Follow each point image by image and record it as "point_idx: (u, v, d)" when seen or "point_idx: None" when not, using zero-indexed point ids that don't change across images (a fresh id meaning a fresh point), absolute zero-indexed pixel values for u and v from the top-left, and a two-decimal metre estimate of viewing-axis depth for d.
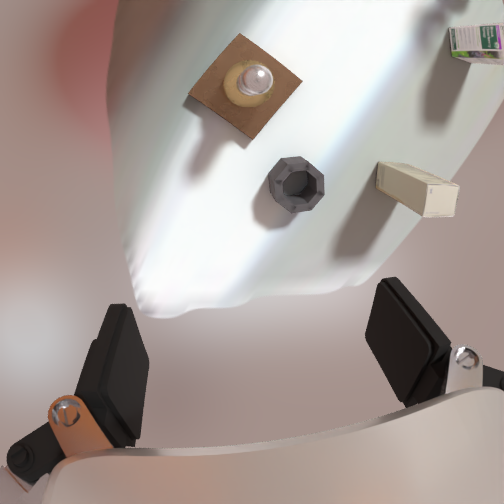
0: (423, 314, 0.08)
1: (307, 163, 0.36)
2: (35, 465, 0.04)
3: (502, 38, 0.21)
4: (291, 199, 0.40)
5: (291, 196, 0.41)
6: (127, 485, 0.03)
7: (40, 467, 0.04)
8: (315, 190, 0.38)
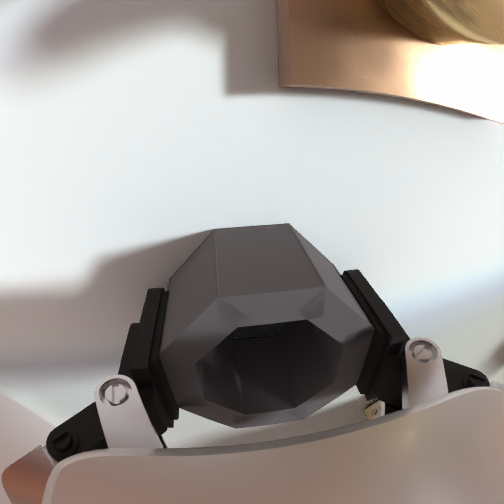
0: (380, 305, 0.09)
1: (369, 330, 0.08)
2: (77, 453, 0.05)
3: None
4: (207, 352, 0.11)
5: None
6: (127, 485, 0.03)
7: None
8: (294, 393, 0.10)
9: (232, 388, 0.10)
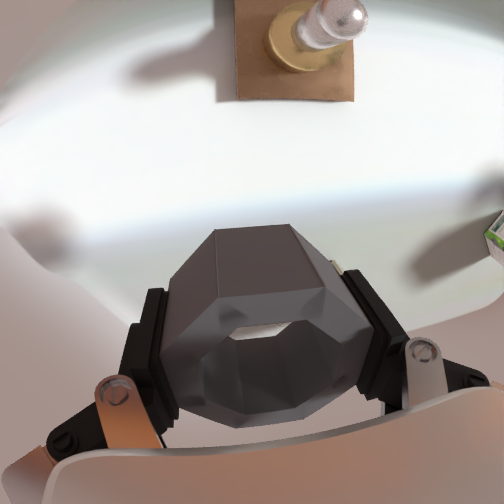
0: (380, 305, 0.09)
1: (368, 330, 0.08)
2: (77, 453, 0.05)
3: None
4: (207, 353, 0.11)
5: None
6: (127, 485, 0.03)
7: None
8: (294, 393, 0.10)
9: (232, 388, 0.10)
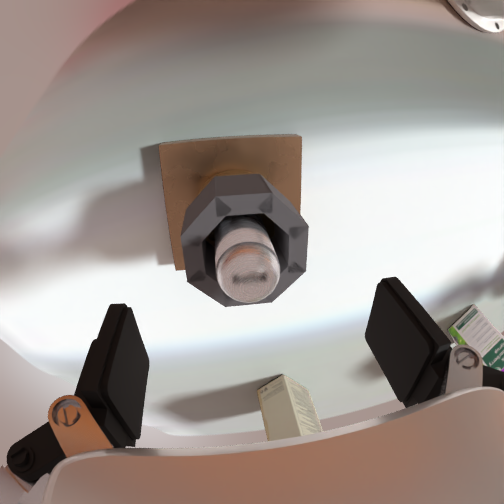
0: (423, 314, 0.08)
1: (304, 226, 0.15)
2: (35, 465, 0.04)
3: None
4: (208, 255, 0.18)
5: (212, 248, 0.19)
6: (127, 485, 0.03)
7: (40, 467, 0.04)
8: None
9: None
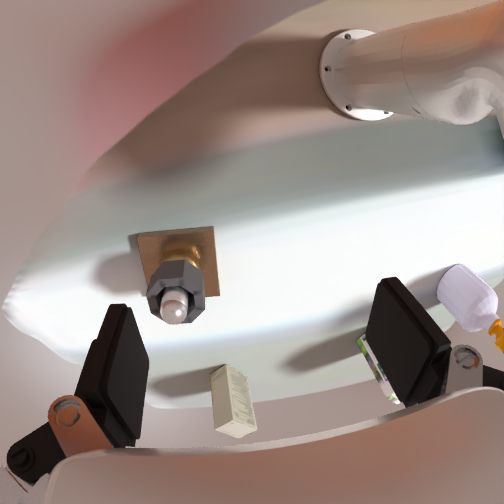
0: (423, 314, 0.08)
1: (199, 290, 0.33)
2: (35, 465, 0.04)
3: None
4: None
5: None
6: (127, 485, 0.03)
7: (40, 467, 0.04)
8: (187, 312, 0.35)
9: None
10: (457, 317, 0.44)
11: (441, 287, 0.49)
